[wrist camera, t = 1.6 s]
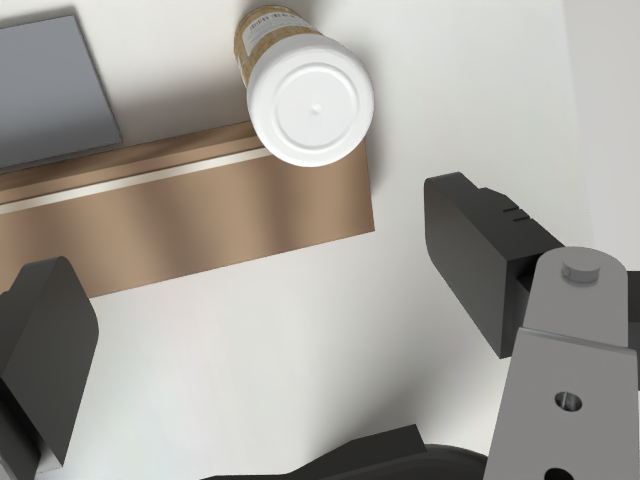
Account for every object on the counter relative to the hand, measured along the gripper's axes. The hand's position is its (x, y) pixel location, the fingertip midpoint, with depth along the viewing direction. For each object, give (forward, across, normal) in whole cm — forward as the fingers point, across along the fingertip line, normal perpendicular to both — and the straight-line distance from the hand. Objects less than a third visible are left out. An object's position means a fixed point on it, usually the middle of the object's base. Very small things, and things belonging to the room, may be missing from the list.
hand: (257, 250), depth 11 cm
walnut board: (+21, +5, +8) cm, 23 cm away
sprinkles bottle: (+21, -3, 0) cm, 21 cm away
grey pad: (+21, +11, 0) cm, 24 cm away
